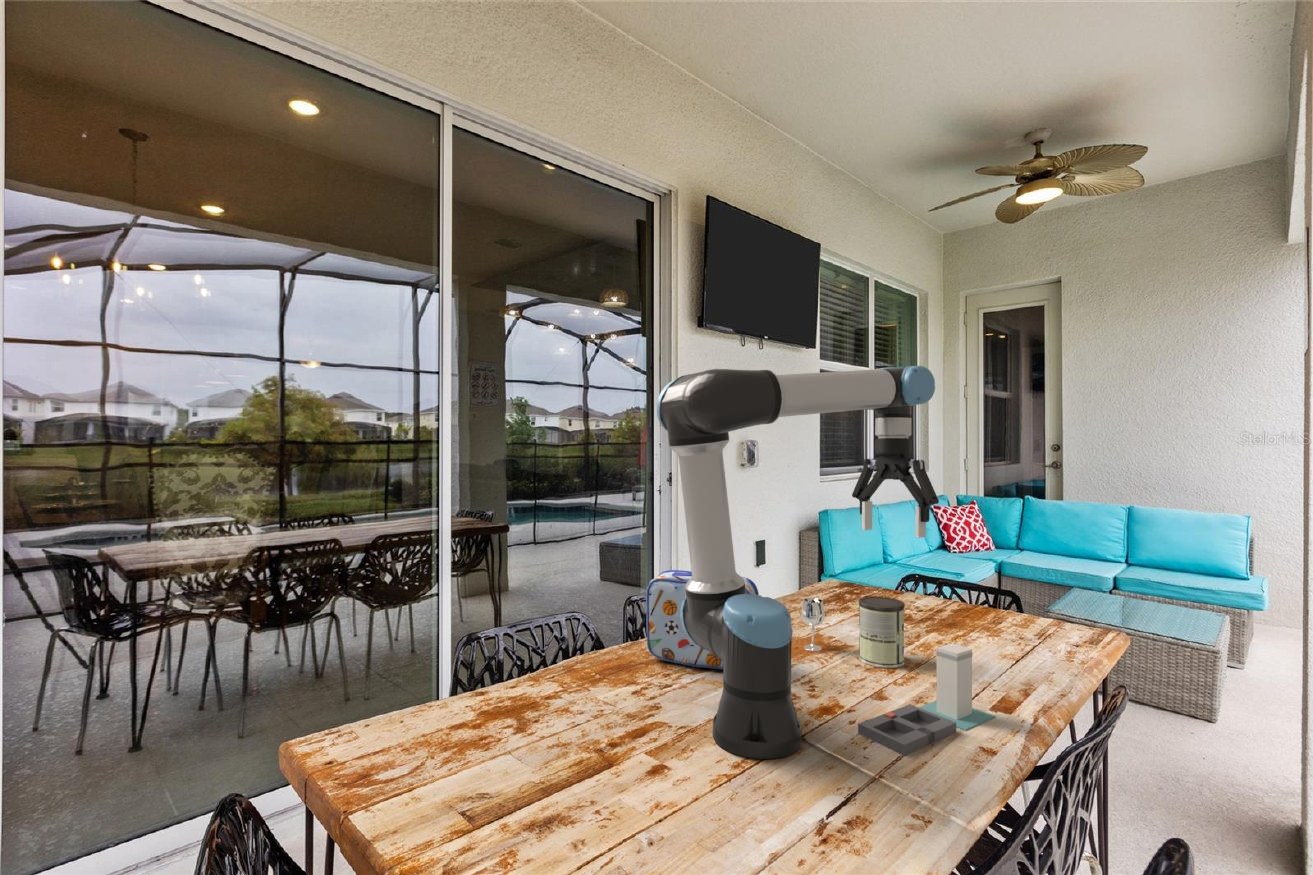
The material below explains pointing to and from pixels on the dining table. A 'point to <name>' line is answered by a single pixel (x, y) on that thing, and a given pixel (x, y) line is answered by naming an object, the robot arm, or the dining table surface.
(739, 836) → the dining table surface
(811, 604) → the wineglass
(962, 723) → the pad
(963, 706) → the block
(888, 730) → the power strip
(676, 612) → the lunch box
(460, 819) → the dining table surface
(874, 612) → the coffee can
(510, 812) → the dining table surface
